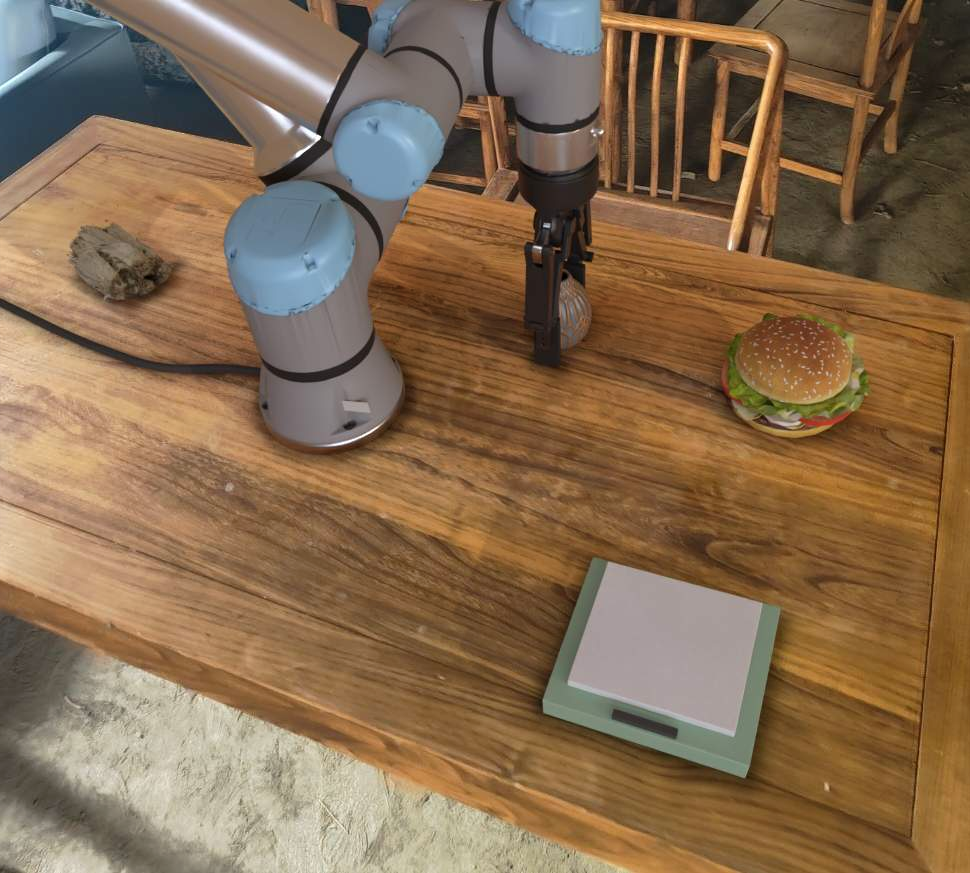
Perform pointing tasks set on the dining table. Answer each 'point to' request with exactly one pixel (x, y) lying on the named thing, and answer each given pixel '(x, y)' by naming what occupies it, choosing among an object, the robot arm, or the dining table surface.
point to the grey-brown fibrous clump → (116, 262)
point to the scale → (665, 665)
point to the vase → (573, 311)
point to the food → (793, 375)
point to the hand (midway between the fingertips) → (560, 335)
